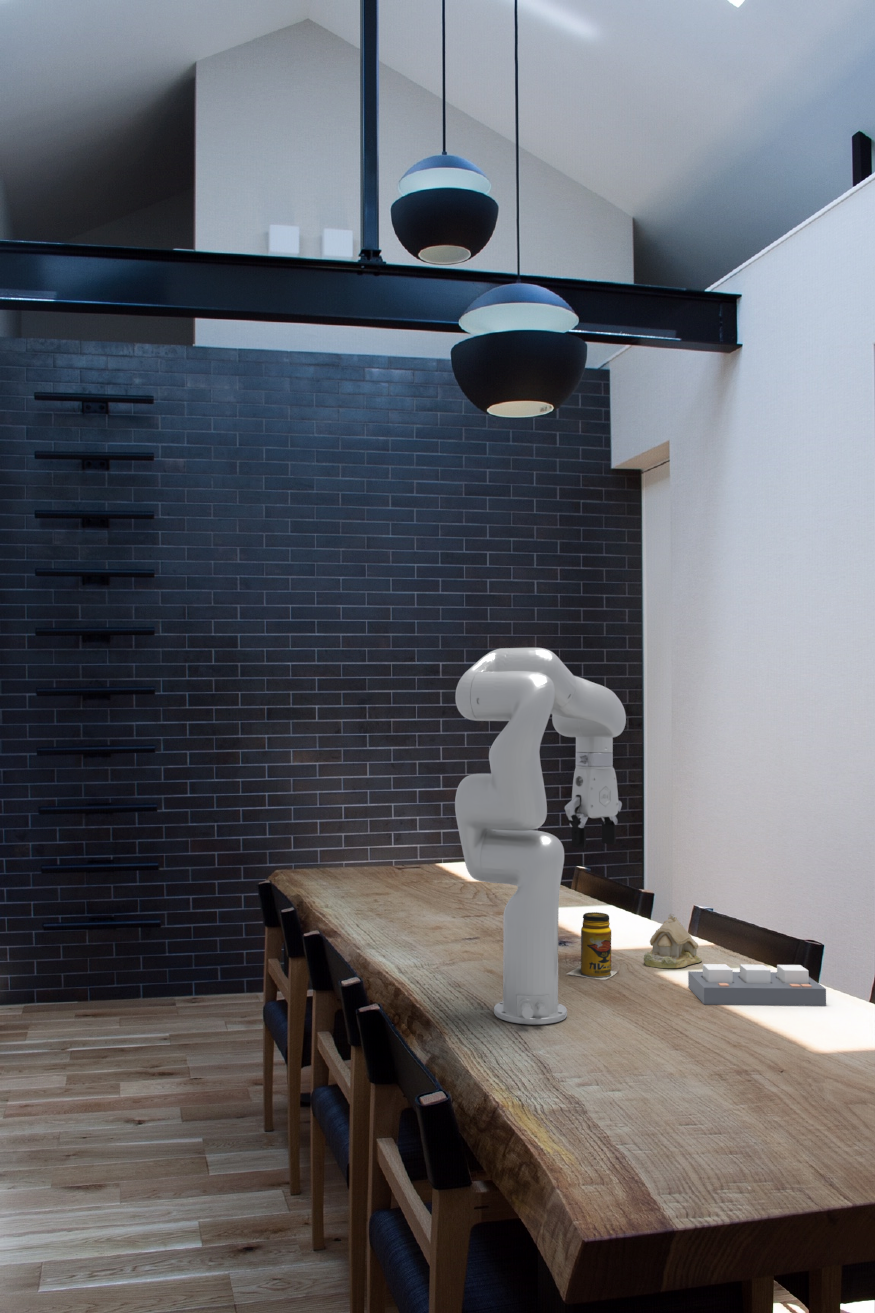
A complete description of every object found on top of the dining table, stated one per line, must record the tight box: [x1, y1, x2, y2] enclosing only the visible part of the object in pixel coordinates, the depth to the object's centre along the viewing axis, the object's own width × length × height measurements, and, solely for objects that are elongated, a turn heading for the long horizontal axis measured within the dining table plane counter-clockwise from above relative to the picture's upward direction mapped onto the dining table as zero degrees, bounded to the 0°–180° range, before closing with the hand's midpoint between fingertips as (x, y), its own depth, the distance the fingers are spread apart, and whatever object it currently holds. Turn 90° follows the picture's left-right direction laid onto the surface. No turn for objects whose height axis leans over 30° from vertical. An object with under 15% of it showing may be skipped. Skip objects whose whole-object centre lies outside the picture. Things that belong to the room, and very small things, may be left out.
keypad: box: [687, 970, 827, 1007], centre depth 196 cm, size 12×22×3 cm, turn 90°
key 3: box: [702, 963, 733, 983], centre depth 196 cm, size 4×4×4 cm
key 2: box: [739, 963, 772, 983], centre depth 196 cm, size 4×4×4 cm
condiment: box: [566, 911, 618, 981], centre depth 212 cm, size 7×8×12 cm
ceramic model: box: [643, 913, 703, 969], centre depth 223 cm, size 14×11×10 cm
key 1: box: [776, 964, 810, 984], centre depth 196 cm, size 4×4×4 cm
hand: (593, 845), depth 215 cm, fingers open, 9 cm apart
